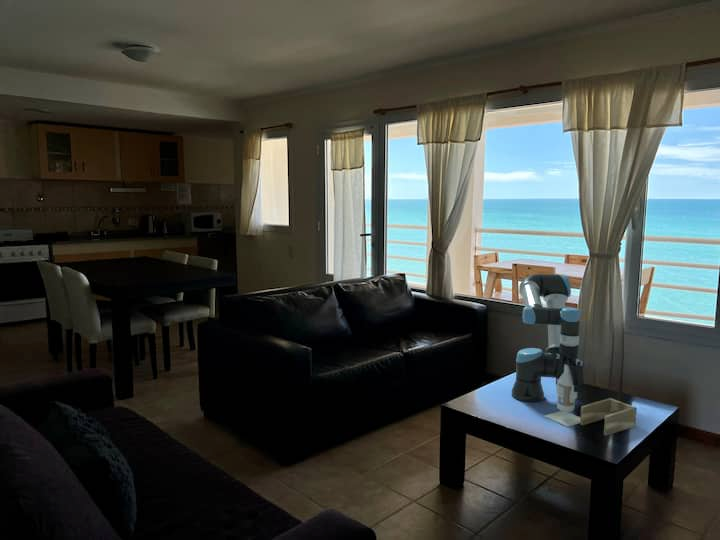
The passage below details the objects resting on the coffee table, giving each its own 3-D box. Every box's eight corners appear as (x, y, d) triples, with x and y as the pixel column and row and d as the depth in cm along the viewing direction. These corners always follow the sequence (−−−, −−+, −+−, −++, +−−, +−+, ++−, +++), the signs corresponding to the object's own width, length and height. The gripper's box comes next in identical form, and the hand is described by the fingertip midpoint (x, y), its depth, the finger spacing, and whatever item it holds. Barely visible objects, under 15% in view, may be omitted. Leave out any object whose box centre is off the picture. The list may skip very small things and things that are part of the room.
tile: (544, 416, 226) (544, 415, 226) (563, 411, 232) (563, 410, 232) (567, 427, 216) (567, 425, 216) (586, 421, 221) (586, 419, 221)
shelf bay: (580, 424, 218) (581, 406, 217) (609, 415, 228) (610, 398, 226) (606, 435, 208) (607, 417, 207) (635, 425, 217) (636, 407, 216)
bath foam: (567, 413, 218) (570, 367, 216) (553, 407, 224) (556, 363, 221) (577, 409, 222) (580, 365, 219) (563, 404, 228) (565, 360, 225)
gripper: (544, 339, 226) (542, 389, 229) (583, 351, 209) (580, 404, 212) (556, 337, 230) (553, 387, 233) (595, 348, 213) (592, 401, 215)
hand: (566, 395), depth 222 cm, fingers closed on bath foam, 7 cm apart
